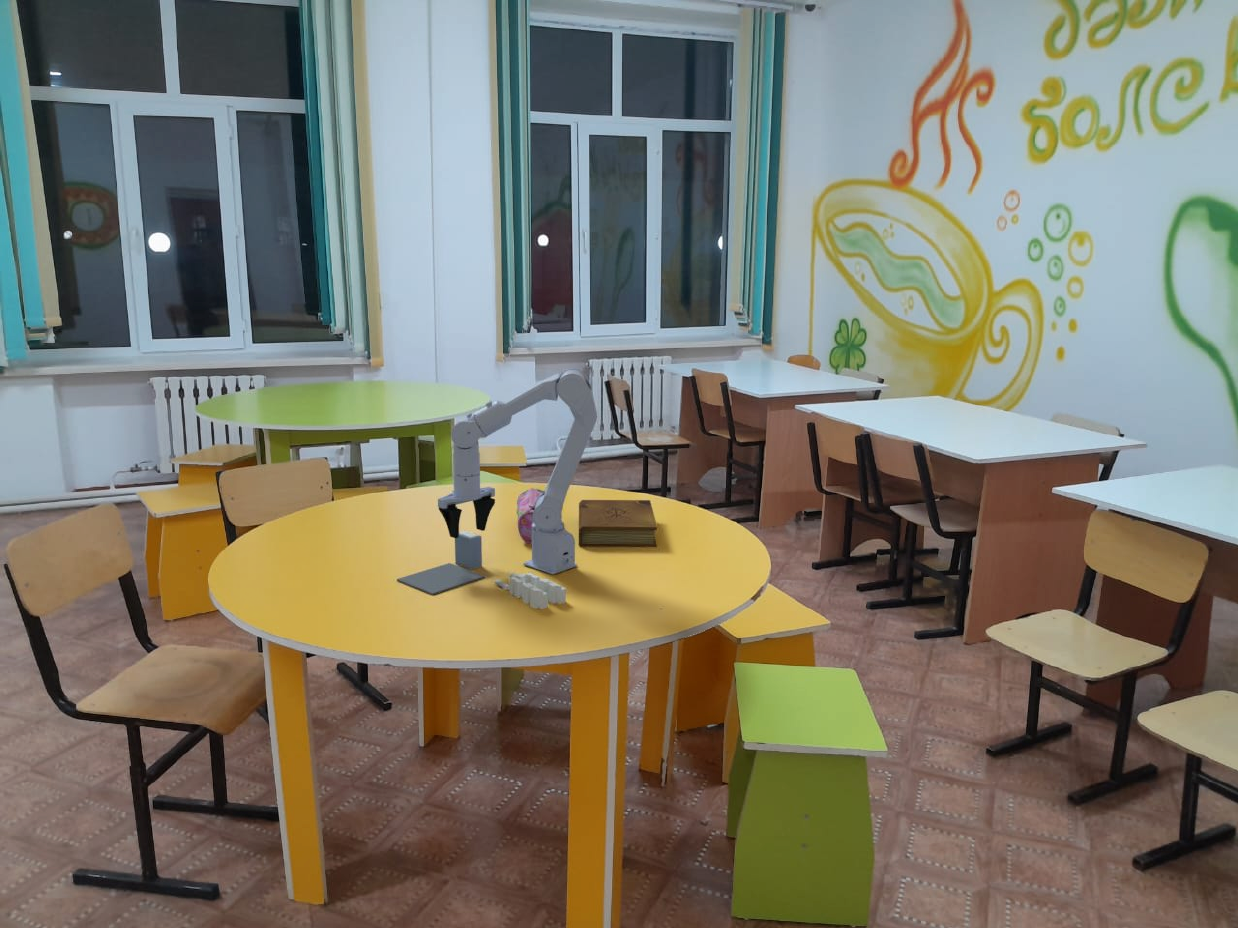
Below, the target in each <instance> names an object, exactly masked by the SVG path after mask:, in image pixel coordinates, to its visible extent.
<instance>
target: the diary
mask: <svg viewBox="0 0 1238 928" xmlns="http://www.w3.org/2000/svg"><path fill="white" fill-rule="evenodd" d="M652 506H653V505H652V503H651V500H650V499H642V500H641V499H582V500H580V502H578V546H579V547H580V548H581V547H583V548H587V547H588V548H592V547H593V548H594V547H595V548H605V547H606V548H657V546H658V544H657V541H656V537H655V531H658V525H657V521H656V518H655V517H656V516H655V514H654V510H653V507H652Z"/></svg>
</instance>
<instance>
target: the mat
mask: <svg viewBox="0 0 1238 928" xmlns="http://www.w3.org/2000/svg"><path fill="white" fill-rule="evenodd" d="M482 579H486V576H485V575H484V574H481V573H478V572H476V571H473V570H471V569H468V568H464V567H463V566H462V567H461V566H460V565H457V564H453V563H451V562H448V563H445V564H441V565H438V566H435V567H432V568H428V569H425V570H422V571H420V572H416V573H413V574H410V575H406V576H402V577H399V578H397V579H396V581H397V582H399V583H400V584H404V585H406V586H409V587H412V588H413V589H416V590H419V591H421V592H424V593H425V594H429V595H431V596H435V595H438V594H440V593H444V592H446V591H449V590H452V589H455V588H459V587H462V586H464V585H467V584H470V583H474V582H476V581H480V580H482Z"/></svg>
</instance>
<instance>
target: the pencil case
mask: <svg viewBox="0 0 1238 928" xmlns="http://www.w3.org/2000/svg"><path fill="white" fill-rule="evenodd" d="M544 491H545V490H542V489H538V488H533V487H532V488H529V489H528V490H525V491H523V492H521V493H520V494H519V495H518V497H517V500H516V505H517V507H516V515H517V528H518V529H517V530H518V533H519V536H520V538H521V539H522V541H524V543H527V544H532V524H533V523H534V522H533V512H534V510H535V502H536V500H537V498H538V497H539V496H540V495H541V494H542V493H543V492H544Z"/></svg>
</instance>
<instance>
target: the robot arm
mask: <svg viewBox="0 0 1238 928" xmlns="http://www.w3.org/2000/svg"><path fill="white" fill-rule="evenodd" d="M558 397H559V398H560V399H561V400H562V402H564V404H565V405H567V406H568V408H569V409H570V412H571V413H572V417H573V421H572V423H571V425H570V428H569V430H568V431H569V432H568V433H567V436H566V439H565V441H564V443H563V445H562V447H561V451H560V452H559V456H558V458H557V460H556V463H555V465H554V468H553V471H552V473H551V475H550V479H549V480H548V483H547V484H546V486H545V489H544V490H543V491H544V492H543V493H542V494H541V495H540V496H539V497H538V498H537V500H536V502H535V510H534V512H533V522H534V523H533V524H532V543H531V559H530V560H527V561H524V562H523V565H524V566H527V567H529V568H533V569H535V570H539V571H542V572H544V573H547V574H550V575H555V574H558V573H561V572H564V571H567V570H569V569H572V568H576V567H577V566H578V563H576V561H575V559H576V540H575V537H574V535H573V534H572V533H571V532H569V531H568V530H567V529H566V528H565V523H564V521H562V517H563V515H562V513H563V512H562V511H563V507H564V506H563V505H564V503H565V500H566V496H567V492H568V491H569V489H570V485H571V483H572V480H573V478H574V476H575V473H576V471H577V469H578V466H579V464H580V461H581V459H582V457H583V454H584V452H585V449H586V447H587V445H588V442H589V439H590V436H591V434H592V432H593V430H594V428H595V425H596V423H597V420H598V411H597V407H596V404H595V399H594V394H593V391H592V385H591V383H590V381H589V380H588V378H587V376H586V374H584V372H583V371H582V370H580V369H578V368H571V367H570V368H567V369H565V370H564V371H563V372H561V374H560V373H556V374H553V375H551V376H549V377H547V378H545V379H543V380H541V381H539V382H537V383H536V384H534V385H532V386H531V387H529V388H527V389H525V390H524V391H522V392H521V393H519V394H518V395H516V396H514V397H512V398H510V399H509V400H507V401H501V400H495V401H494V402H493V401H492V400H489V401H488V402H486V403H485V406H484V407H483V408H481V409H479V410H477V411H475V412H473V413H472V412H469V413H467V414H466V417H463V418H461V419H459V420H458V421H457V422H456V423H455V424H454V426H453V427H452V429H451V432H450V437H451V441H452V443H453V454H452V464H453V466H452V470H453V471H452V472H453V475H452V477H453V490H452V493H449V494H447V495H445V496H442V497H438V498H437V507H438V510H439V513H440V514H441V515H442V517H443V520H444V521H445V524H446V526H447V530H448V533H449V537H450V538H454V539H455V538H458V536H459V532H460V520H461V514H462V512H463V510H462V509H461V508H458V506H456V505H460V504H464V503H469V502H472V504H473V506H474V512H475V527H476V530H478V531H481V532H482V531H483V532H484V531H485V530H486V527H487V523H488V519H489V516H490V513H491V511H492V510H493V507H494V506H495V503H496V499H495V498H494V497H495V496H496V489H495V487H493V486H485V487H481V466H480V465H481V464H480V463H481V462H480V461H481V460H480V458H481V456H480V455H481V454H480V449H479V447H480V446H479V445H480V444H479V439H480V438H487V437H488V436H491V435H493V434H494V433H495V432H497V431H499V430H501V429H503V428H505V427H506V426H509V425H510V424H511V422H512V418H513V416H514V415H516V414H519V412H522V411H524V410H526V409H528V408H530V407H531V406H534V405H536V404H537V403H539V402H542V401H544V400H547V401H555V402H557V401H558Z"/></svg>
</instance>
